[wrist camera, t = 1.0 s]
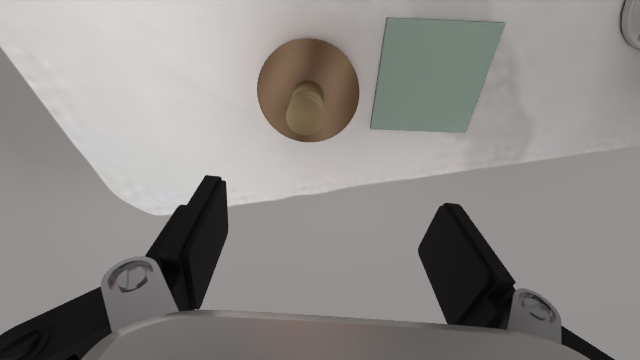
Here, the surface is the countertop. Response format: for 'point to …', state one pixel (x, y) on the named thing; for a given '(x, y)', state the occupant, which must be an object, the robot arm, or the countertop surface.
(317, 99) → the lid
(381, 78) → the mat
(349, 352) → the robot arm
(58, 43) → the countertop surface
